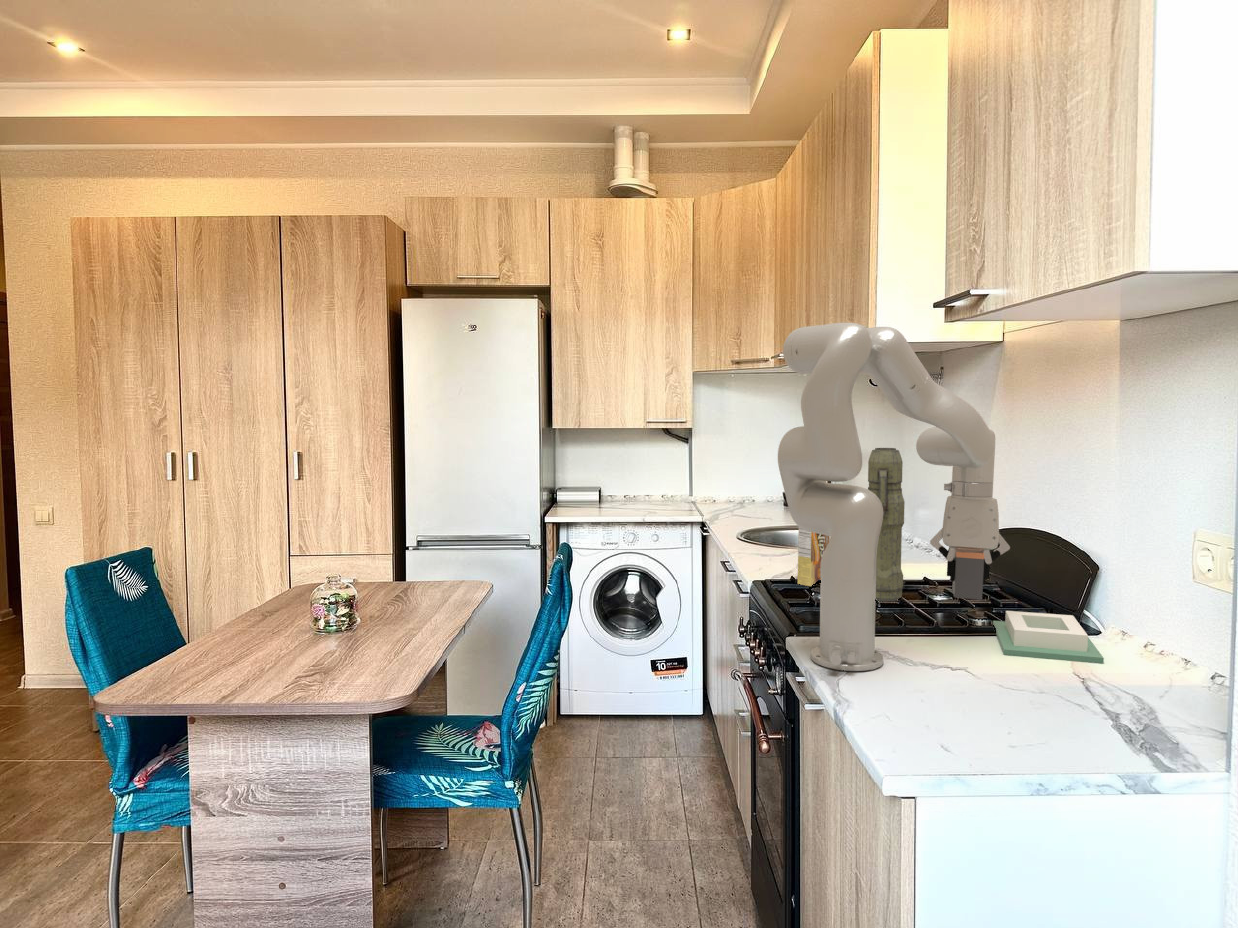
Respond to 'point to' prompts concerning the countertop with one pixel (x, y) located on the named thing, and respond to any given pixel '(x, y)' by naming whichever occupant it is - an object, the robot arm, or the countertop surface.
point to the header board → (1043, 651)
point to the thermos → (888, 520)
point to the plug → (968, 573)
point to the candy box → (810, 556)
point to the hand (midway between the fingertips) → (967, 580)
